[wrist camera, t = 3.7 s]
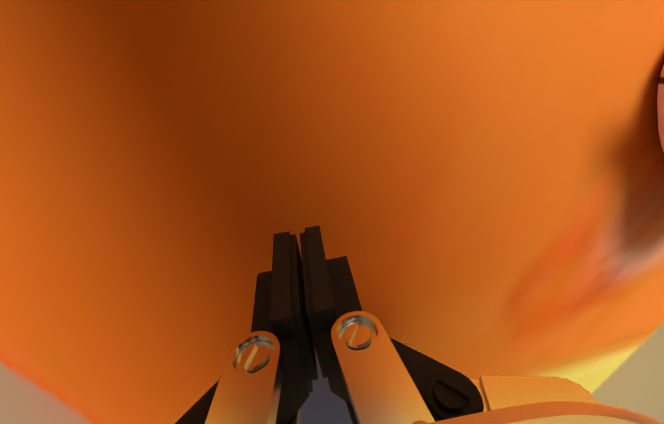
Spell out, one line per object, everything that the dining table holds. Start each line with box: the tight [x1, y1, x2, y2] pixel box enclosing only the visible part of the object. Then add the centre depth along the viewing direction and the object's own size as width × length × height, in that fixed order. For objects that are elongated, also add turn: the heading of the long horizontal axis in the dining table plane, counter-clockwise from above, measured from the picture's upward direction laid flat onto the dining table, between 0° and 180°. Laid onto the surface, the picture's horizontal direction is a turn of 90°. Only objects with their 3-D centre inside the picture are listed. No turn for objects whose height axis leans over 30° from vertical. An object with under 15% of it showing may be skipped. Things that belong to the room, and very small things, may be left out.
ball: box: [301, 349, 351, 424], centre depth 15 cm, size 6×6×6 cm
